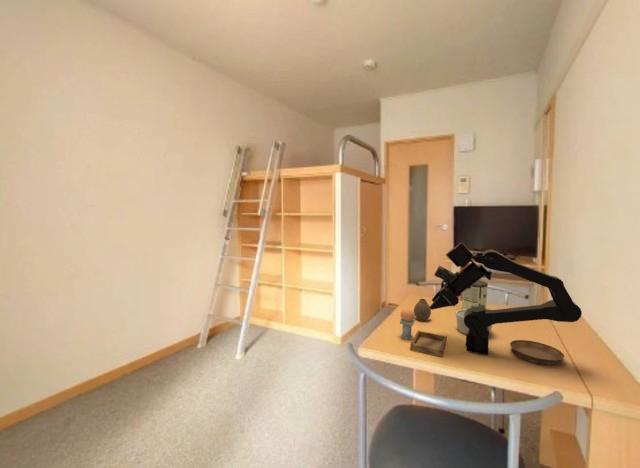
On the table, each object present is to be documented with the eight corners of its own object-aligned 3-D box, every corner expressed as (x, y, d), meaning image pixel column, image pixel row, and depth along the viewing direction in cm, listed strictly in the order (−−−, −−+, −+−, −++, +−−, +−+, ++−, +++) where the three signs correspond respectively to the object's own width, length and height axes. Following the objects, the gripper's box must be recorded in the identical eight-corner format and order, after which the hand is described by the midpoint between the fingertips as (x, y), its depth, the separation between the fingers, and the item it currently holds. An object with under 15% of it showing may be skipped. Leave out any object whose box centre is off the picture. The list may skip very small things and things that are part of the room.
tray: (446, 342, 113) (446, 336, 113) (441, 357, 102) (442, 350, 101) (417, 336, 118) (418, 330, 118) (410, 349, 106) (410, 343, 106)
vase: (427, 323, 131) (428, 303, 130) (411, 319, 135) (412, 299, 134) (432, 319, 136) (433, 299, 135) (416, 315, 140) (417, 296, 139)
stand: (413, 335, 118) (414, 319, 117) (412, 340, 114) (413, 323, 113) (401, 333, 120) (402, 317, 119) (399, 338, 116) (400, 321, 115)
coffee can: (462, 306, 154) (464, 278, 152) (486, 310, 148) (488, 281, 147) (459, 312, 145) (461, 282, 144) (484, 317, 140) (487, 286, 138)
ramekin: (453, 334, 121) (454, 316, 120) (456, 323, 132) (457, 306, 132) (492, 341, 115) (494, 323, 114) (492, 329, 126) (493, 312, 125)
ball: (415, 320, 117) (416, 307, 117) (412, 324, 113) (413, 311, 112) (402, 317, 120) (402, 305, 119) (398, 322, 115) (399, 308, 115)
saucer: (513, 342, 114) (513, 335, 114) (564, 356, 105) (565, 348, 105) (505, 357, 103) (506, 349, 103) (562, 373, 94) (563, 365, 93)
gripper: (450, 255, 117) (418, 281, 123) (449, 263, 100) (412, 293, 106) (472, 278, 115) (439, 304, 120) (475, 291, 98) (435, 320, 103)
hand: (431, 304), depth 112 cm, fingers open, 9 cm apart
